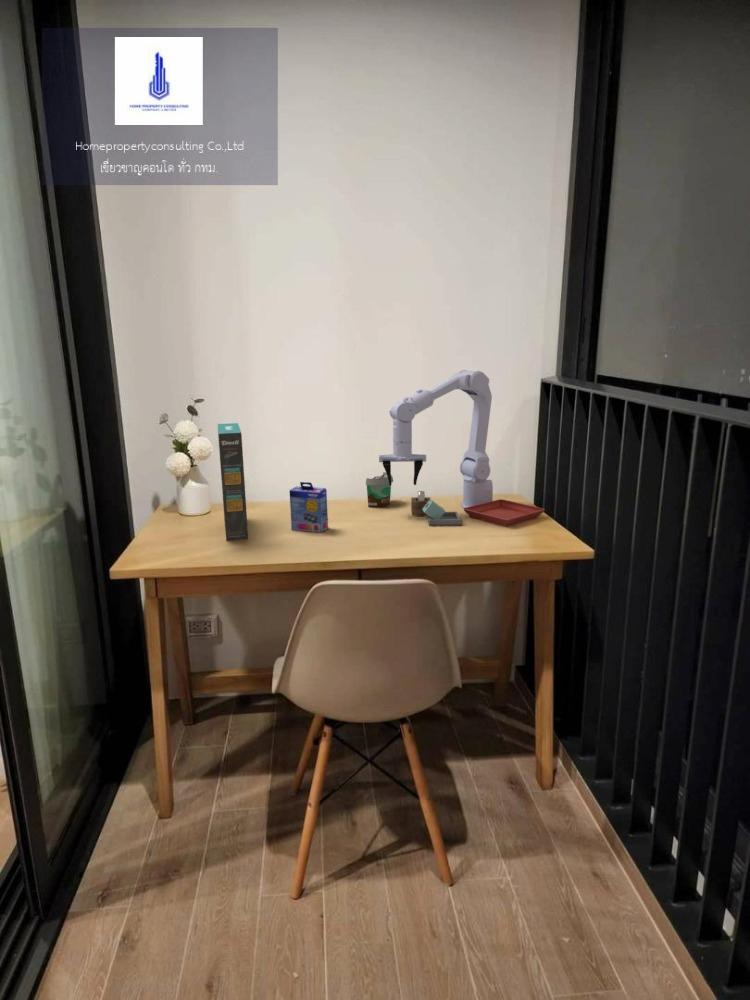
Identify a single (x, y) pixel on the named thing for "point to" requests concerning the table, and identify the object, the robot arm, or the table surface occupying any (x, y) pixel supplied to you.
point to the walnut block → (418, 506)
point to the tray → (445, 520)
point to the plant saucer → (503, 512)
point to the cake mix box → (233, 481)
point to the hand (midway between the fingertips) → (402, 484)
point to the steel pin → (421, 496)
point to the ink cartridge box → (308, 508)
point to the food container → (378, 491)
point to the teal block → (433, 510)
